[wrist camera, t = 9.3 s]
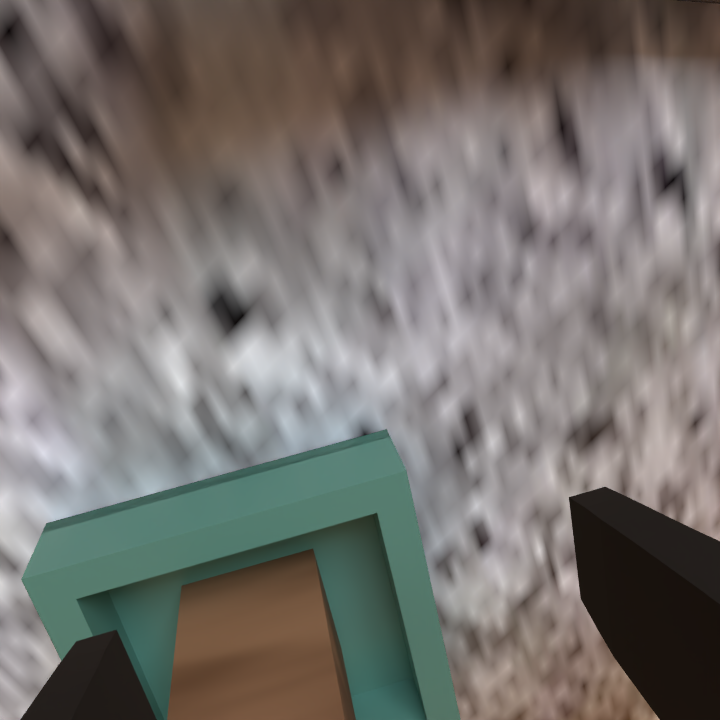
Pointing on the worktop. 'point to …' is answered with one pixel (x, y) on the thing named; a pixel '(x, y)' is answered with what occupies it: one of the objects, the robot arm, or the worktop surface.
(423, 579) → the teal well
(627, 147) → the worktop surface
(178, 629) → the walnut post
